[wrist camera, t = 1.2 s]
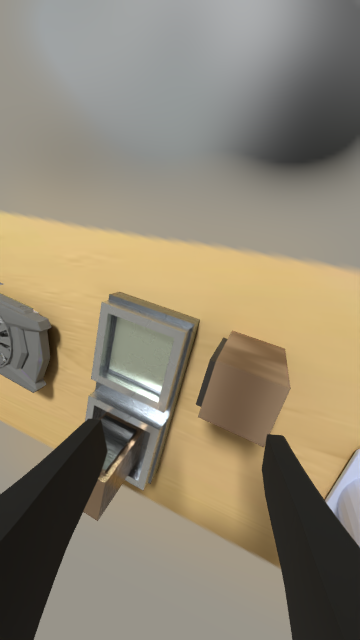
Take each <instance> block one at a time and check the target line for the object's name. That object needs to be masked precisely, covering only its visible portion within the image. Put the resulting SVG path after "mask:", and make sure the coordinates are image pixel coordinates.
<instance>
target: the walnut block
mask: <svg viewBox="0 0 360 640" xmlns="http://www.w3.org/2000/svg"><path fill="white" fill-rule="evenodd" d="M290 389H291V388H290V381H289V374H288V367H287V360H286V353H285V349H284V348H281V347H278V346H275V345H272V344H270V343H267V342H264V341H261V340H258V339H255V338H252V337H249V336H246V335H243V334H241V333H238V332H235V331H232V332H231V334H230V336H229V338H228V339H226V338H223V339H222V341H221V343H220V344H219V346H218V347H217V349H216V351H215V352H214V354H213V356H212V357H211V359H210V361H209V364H208V368H207V371H206V374H205V377H204V380H203V383H202V387H201V390H200V393H199V396H198V399H197V402H196V405H198V406H200V407H201V409H200V412H199V415H198V417H199V418H201V419H203V420H205V421H208V422H210V423H212V424H214V425H216V426H219V427H221V428H223V429H225V430H227V431H229V432H232V433H234V434H236V435H238V436H240V437H243V438H245V439H247V440H249V441H251V442H253V443H256V444H258V445H260V446H262V447H264V445H265V443H266V438H267V434H270V432H271V430H272V428H273V426H274V424H275V421H276V419H277V417H278V415H279V413H280V411H281V408H282V406H283V404H284V402H285V400H286V397H287V395H288V393H289V391H290Z"/></svg>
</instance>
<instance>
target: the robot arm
mask: <svg viewBox="0 0 360 640" xmlns="http://www.w3.org/2000/svg"><path fill="white" fill-rule="evenodd" d="M107 453H108V450H107V446H106V441H105V436H104V431H103V426H102V422H101V420H100V419H89V418H88V419H87V420H86V421H85V422H84V423H83V424H82V425H81V426H80V427H78V428H77V429H76V430H75V431H74V432H73V433H72V434H71V435H70V436H69V437H68V438H67V439H66V440H64V441H63V442H62V443H61V444H60V445H59V446H58V447H57V448H56V449H55V450H53V451H52V452H51V453H50V454H49V455H48V456H47V457H46V458H44V459H43V460H42V461H41V462H40V463H39V464H38V465H36V466H35V467H34V468H33V469H32V470H30V471H29V472H28V473H27V474H26V475H24V476H23V477H22V478H21V479H20V480H18V481H17V482H16V483H15V484H13V485H12V486H11V487H9V488H8V489H7V490H6V491H4V492H3V493H2V494H0V640H34V637H35V634H36V631H37V628H38V625H39V622H40V619H41V616H42V613H43V610H44V607H45V605H46V602H47V599H48V596H49V594H50V591H51V588H52V585H53V582H54V580H55V577H56V575H57V572H58V569H59V566H60V564H61V561H62V559H63V556H64V553H65V550H66V548H67V546H68V544H69V541H70V539H71V537H72V534H73V532H74V530H75V528H76V526H77V524H78V522H79V519H80V517H81V515H82V513H83V511H84V509H85V507H86V504H87V502H88V500H89V498H90V496H91V494H92V492H93V489H94V487H95V485H96V483H97V481H98V478H99V476H100V473H101V470H102V468H103V465H104V462H105V459H106V456H107ZM262 473H263V482H264V490H265V497H266V502H267V506H268V511H269V516H270V520H271V525H272V529H273V534H274V538H275V543H276V547H277V552H278V556H279V561H280V565H281V570H282V575H283V580H284V585H285V591H286V599H287V605H288V612H289V619H290V625H291V632H292V639H293V640H360V449H358V450H356V452H355V453H354V455H353V456H352V458H351V460H350V461H349V463H348V464H347V466H346V468H345V469H344V471H343V472H342V474H341V476H340V477H339V479H338V480H337V482H336V484H335V485H334V487H333V488H332V490H331V492H330V493H329V495H328V496H327V498H326V500H324V499H323V497H322V496H321V494H320V493H319V491H318V490H317V489H316V487H315V486H314V484H313V483H312V481H311V480H310V478H309V477H308V475H307V474H306V472H305V471H304V469H303V467H302V466H301V464H300V463H299V461H298V459H297V458H296V456H295V454H294V453H293V451H292V449H291V448H290V446H289V444H288V442H287V441H286V439H285V437H284V436H282V435H270V434H267V438H266V445H265V451H264V458H263V464H262Z"/></svg>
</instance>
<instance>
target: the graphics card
mask: <svg viewBox="0 0 360 640" xmlns="http://www.w3.org/2000/svg"><path fill="white" fill-rule="evenodd" d="M1 284H2V283H0V285H1ZM49 328H51V325H50V322H49V320H48V319H47V318H45V317H43V316H41V315H39V313H38V312H36V311H34V310H33V308H31V307H29V306H27V305H25V304H23V303H21V302H18V301H16V300H14V299H12V298H10V297H7V296H5V295H3V294H1V293H0V374H1V375H3V376H4V377H6V378H8V379H10V380H12V381H13V382H15V383H17V384H19V385H20V386H22V387H24V388H26V389H27V390H29V391H31V392H33V393H34V392H36V391H37V390H39V389H41V388H42V387H44V386H45V385H46V383H45V381H44V379H43V377H44V375H45V372H46V369H47V366H48V363H49V360H50V351H49V342H48V331H47V329H49ZM3 360H4V361H6V362H4V361H3Z"/></svg>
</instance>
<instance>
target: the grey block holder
mask: <svg viewBox="0 0 360 640" xmlns="http://www.w3.org/2000/svg"><path fill="white" fill-rule="evenodd" d="M199 321H200V320H199V319H196V318H194V317H191V316H188V315H185V314H182V313H179V312H176V311H173V310H170V309H167V308H165V307H162V306H159V305H156V304H153V303H150V302H147V301H144V300H141V299H139V298H136V297H133V296H130V295H127V294H124V293H121V292H118V293H113V294H109V300H107V301H104V302H102V303H101V311H100V318H99V325H98V332H97V340H96V347H95V354H94V361H93V368H92V376H91V379H92V380H94V381H97V382H96V389H95V391H94V392H93V393H92V394H90V395H89V397H88V405H87V412H86V419H85V421H86V420H87V419H88V418H89V419H100V420H101V422H102V426H103V431H104V436H105V441H106V446H107V450H108V453H107V456H106V459H105V462H104V465H103V468H102V470H101V473H100V476H99V478H98V481H97V483H96V485H95V487H94V489H93V492H92V494H91V496H90V498H89V500H88V502H87V504H86V507H85V509H84V511H83V512H84V513H86V514H88V515H89V516H91V517H92V518H94V519H95V520H97V521H98V520H99V518H100V517H101V515H102V514H103V512H104V511H105V509H106V508H107V506H108V505H109V503H110V502H111V500H112V499H113V497H114V496H115V494H116V493H117V491H118V489H119V488H120V486H121V485H122V483H123V482H124V480H126V481H128V482H129V483H131V484H133V485H134V486H136V487H138V488H140V489H141V490H144V489H145V487H146V485H147V483H151V482H152V480H153V478H154V476H155V474H156V472H157V469H158V466H159V462H160V459H161V455H162V452H163V448H164V445H165V441H166V437H167V434H168V430H169V427H170V423H171V420H172V416H173V413H174V409H175V406H176V402H177V399H178V395H179V391H180V388H181V384H182V381H183V377H184V374H185V370H186V367H187V363H188V360H189V356H190V353H191V349H192V345H193V342H194V338H195V335H196V331H197V328H198V324H199Z"/></svg>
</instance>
